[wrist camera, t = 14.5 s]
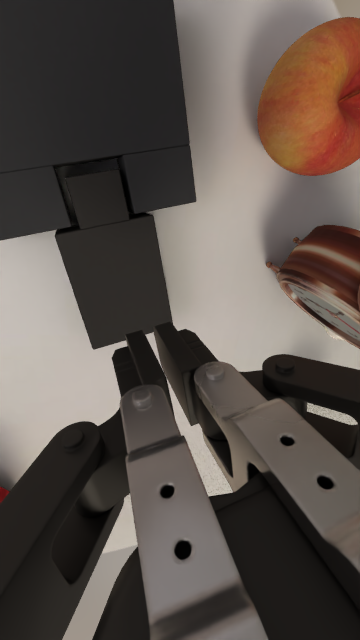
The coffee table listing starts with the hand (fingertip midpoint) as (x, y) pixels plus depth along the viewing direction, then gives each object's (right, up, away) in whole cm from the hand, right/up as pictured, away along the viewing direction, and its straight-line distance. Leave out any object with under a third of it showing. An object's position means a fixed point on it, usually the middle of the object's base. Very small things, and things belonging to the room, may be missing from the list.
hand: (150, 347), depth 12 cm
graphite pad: (-5, +13, +5) cm, 14 cm away
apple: (+8, +15, +9) cm, 20 cm away
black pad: (-4, +6, +9) cm, 11 cm away
